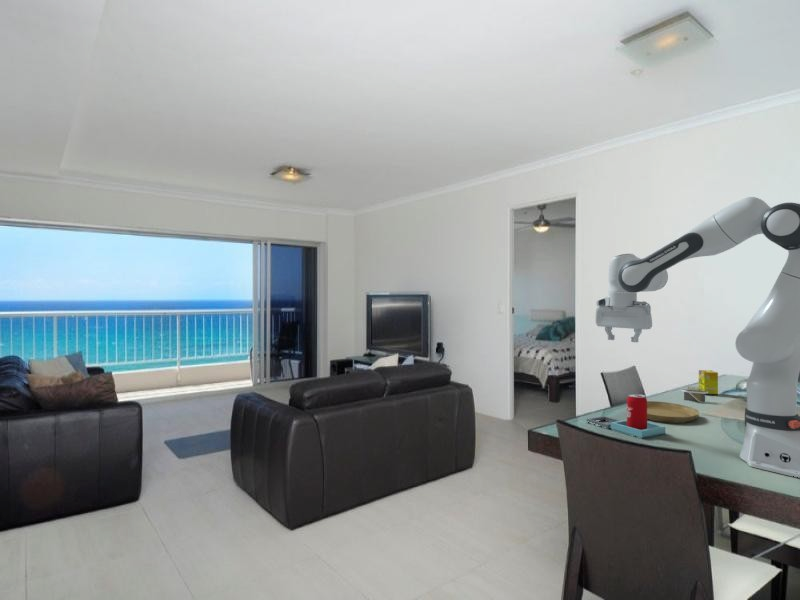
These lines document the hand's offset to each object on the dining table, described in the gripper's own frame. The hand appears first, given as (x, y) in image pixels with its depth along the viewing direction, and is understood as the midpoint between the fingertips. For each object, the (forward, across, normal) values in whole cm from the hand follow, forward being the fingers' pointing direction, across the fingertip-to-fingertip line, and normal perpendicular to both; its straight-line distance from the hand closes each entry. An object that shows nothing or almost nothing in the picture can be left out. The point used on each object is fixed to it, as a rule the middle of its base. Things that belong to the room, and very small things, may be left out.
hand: (622, 341), depth 163 cm
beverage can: (+31, -3, -3) cm, 31 cm away
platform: (+32, +16, -66) cm, 75 cm away
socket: (+31, +8, -1) cm, 32 cm away
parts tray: (+31, -4, -3) cm, 31 cm away
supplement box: (+31, +22, -87) cm, 95 cm away
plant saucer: (+32, +6, -31) cm, 45 cm away
